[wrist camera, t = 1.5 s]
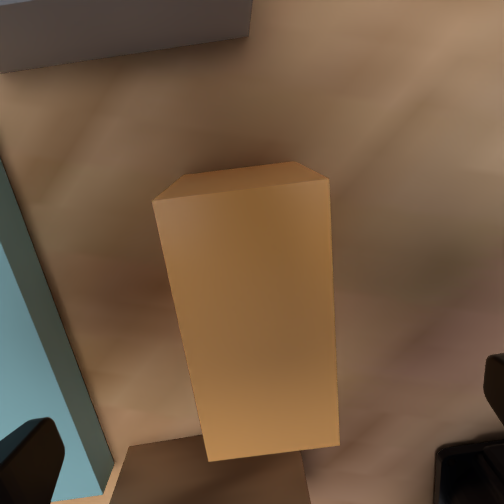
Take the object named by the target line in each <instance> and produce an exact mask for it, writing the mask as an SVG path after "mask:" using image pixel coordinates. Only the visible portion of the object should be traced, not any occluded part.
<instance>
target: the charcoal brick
mask: <svg viewBox="0 0 504 504" xmlns="http://www.w3.org/2000/svg"><path fill="white" fill-rule="evenodd" d="M252 1H253V0H0V73H8V72H14V71H21V70H28V69H34V68H41V67H48V66H54V65H61V64H68V63H74V62H81V61H88V60H94V59H101V58H108V57H114V56H121V55H128V54H134V53H141V52H148V51H154V50H161V49H168V48H174V47H181V46H188V45H194V44H201V43H208V42H214V41H221V40H228V39H234V38H241V37H248V36H249V27H250V19H251V10H252Z"/></svg>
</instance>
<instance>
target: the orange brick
mask: <svg viewBox="0 0 504 504" xmlns="http://www.w3.org/2000/svg"><path fill="white" fill-rule="evenodd" d="M152 205H153V209H154V214H155V218H156V223H157V228H158V232H159V237H160V241H161V246H162V251H163V255H164V260H165V264H166V269H167V274H168V278H169V283H170V287H171V292H172V297H173V301H174V306H175V310H176V315H177V320H178V324H179V329H180V333H181V338H182V342H183V347H184V352H185V356H186V361H187V365H188V370H189V375H190V379H191V384H192V388H193V393H194V398H195V402H196V407H197V411H198V416H199V421H200V425H201V430H202V434H203V439H204V444H205V448H206V453H207V457H208V462H211V461H219V460H227V459H235V458H243V457H251V456H259V455H267V454H275V453H283V452H291V451H299V450H307V449H315V448H323V447H331V446H339V445H340V437H339V412H338V386H337V361H336V336H335V311H334V286H333V260H332V235H331V210H330V185H329V178H327V177H325V176H323V175H321V174H319V173H317V172H315V171H313V170H311V169H309V168H307V167H305V166H303V165H301V164H299V163H297V162H295V161H291V162H283V163H275V164H267V165H259V166H251V167H243V168H235V169H227V170H218V171H210V172H202V173H194V174H186V175H183V176H182V177H180V178H179V179H178V180H177V181H175V182H174V183H173V184H172V185H171V186H169V187H168V188H167V189H166V190H164V191H163V192H162V193H161V194H160V195H158V196H157V197H156V198H155V199H153V200H152Z"/></svg>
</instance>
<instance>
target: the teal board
mask: <svg viewBox="0 0 504 504" xmlns="http://www.w3.org/2000/svg"><path fill="white" fill-rule="evenodd" d="M43 417H50V418H51V419H53V420H54V422H55V424H56V427H57V429H58V431H59V434H60V436H61V438H62V441H63V443H64V446H65V457H64V461H63V465H62V468H61V471H60V474H59V477H58V480H57V484H56V487H55V490H54V493H53V496H52V500H51V502H54V501H61V500H68V499H75V498H83V497H90V496H97V495H103V493H104V490H105V488H106V485H107V482H108V479H109V477H110V474H111V471H112V469H113V466H114V462H113V459H112V456H111V453H110V451H109V448H108V445H107V443H106V440H105V437H104V435H103V432H102V429H101V427H100V424H99V421H98V419H97V416H96V413H95V411H94V408H93V405H92V403H91V400H90V397H89V395H88V392H87V389H86V386H85V384H84V381H83V378H82V376H81V373H80V370H79V368H78V365H77V362H76V360H75V357H74V354H73V352H72V349H71V346H70V344H69V341H68V338H67V336H66V333H65V330H64V328H63V325H62V322H61V319H60V317H59V314H58V311H57V309H56V306H55V303H54V301H53V298H52V295H51V293H50V290H49V287H48V285H47V282H46V279H45V277H44V274H43V271H42V269H41V266H40V263H39V261H38V258H37V255H36V252H35V250H34V247H33V244H32V242H31V239H30V236H29V234H28V231H27V228H26V226H25V223H24V220H23V218H22V215H21V212H20V210H19V207H18V204H17V202H16V199H15V196H14V194H13V191H12V188H11V185H10V183H9V180H8V177H7V175H6V172H5V169H4V167H3V164H2V161H1V159H0V440H2V439H3V438H5V437H6V436H7V435H9V434H10V433H11V432H13V431H14V430H15V429H17V428H18V427H19V426H21V425H22V424H24V423H25V422H26V421H28V420H31V419H36V418H43Z"/></svg>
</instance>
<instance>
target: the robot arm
mask: <svg viewBox="0 0 504 504" xmlns="http://www.w3.org/2000/svg"><path fill="white" fill-rule="evenodd" d="M483 390H484V394H485V397H486V399H487V401H488V402H489V404H490V406H491V407H492V409H493V410H494V412H495V413H496V415H497V416H498V418H499V420H500V421H501V423H502V424H503V426H504V353H500V354H493V355H490V356H488V358H487V359H486V365H485V375H484V384H483ZM64 457H65V446H64V443H63V441H62V438H61V436H60V434H59V431H58V429H57V427H56V424H55V422H54V420H53V419H51V418H50V417H43V418H36V419H31V420H28V421H26V422H25V423H24V424H22V425H21V426H19V427H18V428H17V429H15V430H14V431H13V432H11V433H10V434H9V435H7V436H6V437H5V438H3V439H2V440H0V504H50V503H51V500H52V496H53V493H54V490H55V487H56V484H57V480H58V477H59V474H60V471H61V468H62V465H63V461H64ZM434 504H504V440H499V441H491V442H484V443H477V444H470V445H463V446H456V447H449V448H444V449H442V450H441V451H439V453H438V454H437V461H436V478H435V495H434Z"/></svg>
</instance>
